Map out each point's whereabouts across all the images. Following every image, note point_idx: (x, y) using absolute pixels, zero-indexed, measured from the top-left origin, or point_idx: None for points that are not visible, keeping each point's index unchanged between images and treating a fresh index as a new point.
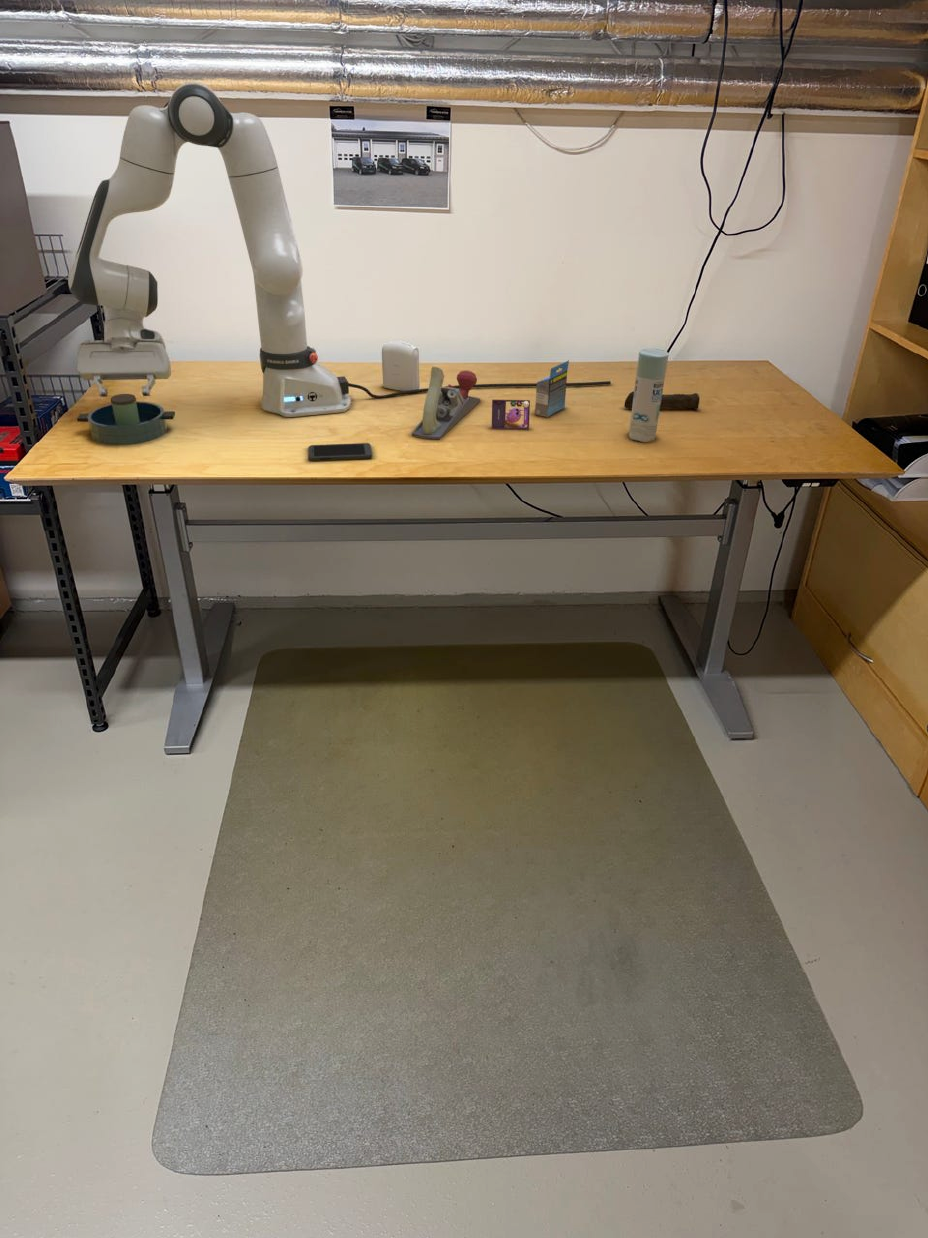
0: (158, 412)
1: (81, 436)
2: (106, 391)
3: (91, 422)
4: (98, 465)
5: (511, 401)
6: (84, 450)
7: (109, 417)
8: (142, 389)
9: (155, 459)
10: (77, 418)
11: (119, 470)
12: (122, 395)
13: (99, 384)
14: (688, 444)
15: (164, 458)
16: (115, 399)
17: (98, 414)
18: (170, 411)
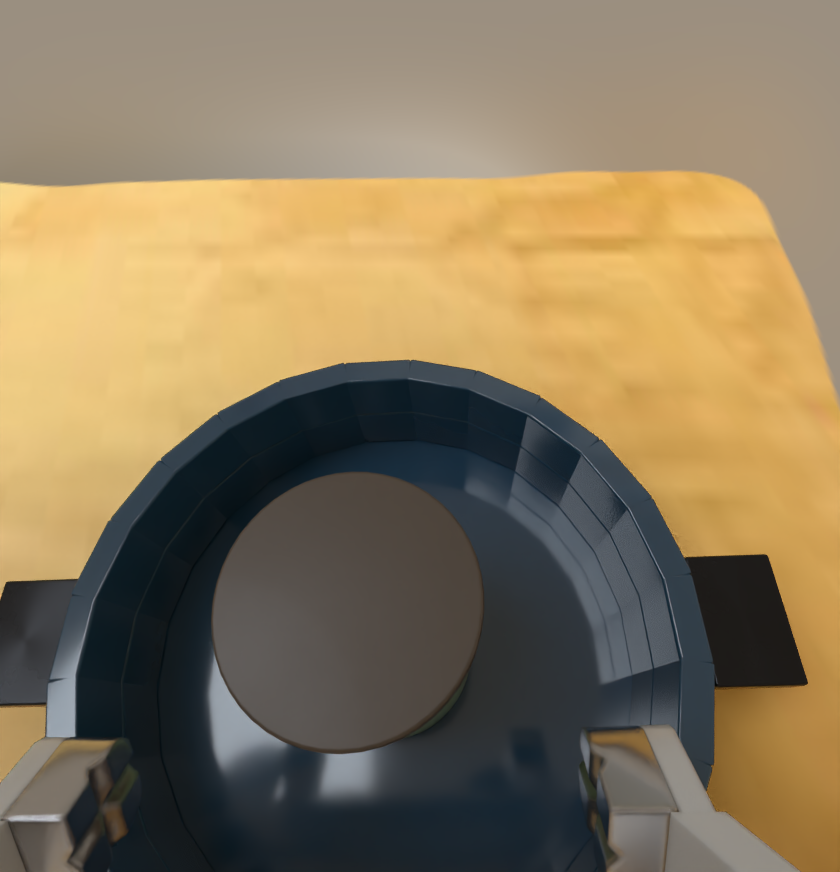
0: None
1: None
2: (598, 816)
3: (596, 436)
4: (458, 233)
5: None
6: (585, 378)
7: (591, 864)
8: (89, 769)
9: (220, 282)
10: (764, 558)
11: (360, 196)
12: (363, 677)
13: (725, 847)
14: None
15: (180, 290)
16: (417, 536)
17: None
18: (1, 700)
